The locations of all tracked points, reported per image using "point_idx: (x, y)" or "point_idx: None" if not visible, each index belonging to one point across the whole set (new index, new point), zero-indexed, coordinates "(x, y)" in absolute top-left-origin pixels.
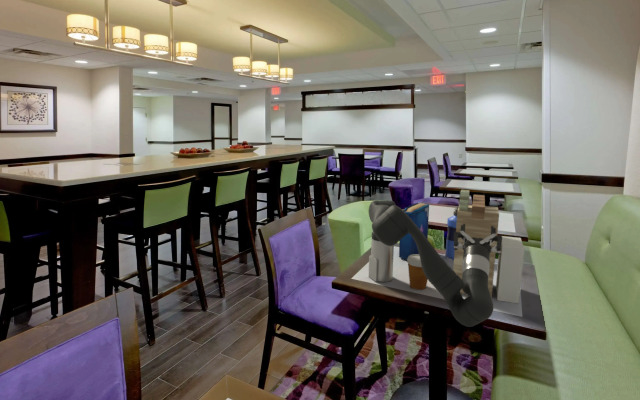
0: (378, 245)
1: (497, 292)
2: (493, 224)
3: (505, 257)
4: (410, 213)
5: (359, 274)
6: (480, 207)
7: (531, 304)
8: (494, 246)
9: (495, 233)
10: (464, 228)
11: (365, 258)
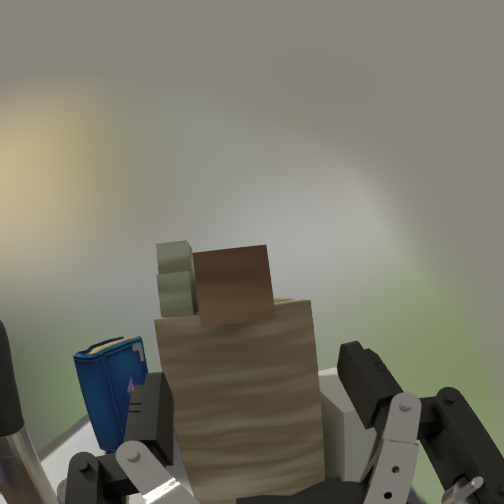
0: None
1: None
2: (299, 344)
3: (356, 440)
4: (90, 357)
5: (4, 498)
6: (241, 249)
7: (412, 500)
8: (455, 495)
9: (398, 386)
10: (153, 414)
11: (39, 453)
